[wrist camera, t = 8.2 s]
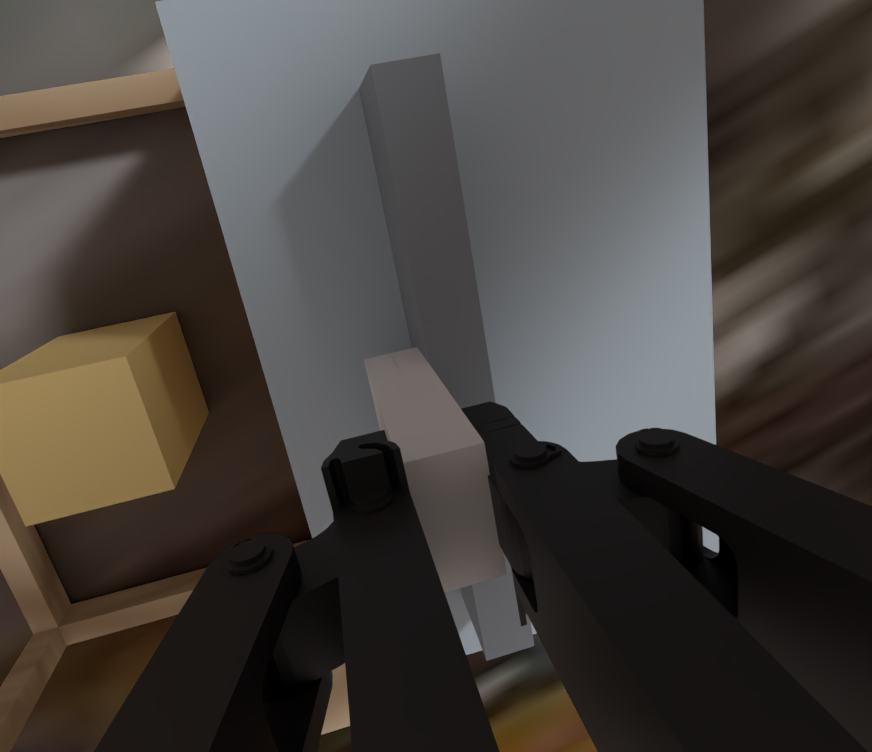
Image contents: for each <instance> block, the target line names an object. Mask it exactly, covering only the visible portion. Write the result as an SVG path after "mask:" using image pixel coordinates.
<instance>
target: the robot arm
mask: <svg viewBox="0 0 872 752" xmlns="http://www.w3.org/2000/svg"><path fill="white" fill-rule="evenodd" d="M364 363H365V367H366V371H367V375H368V380H369V384H370V388H371V393H372V397H373V401H374V406H375V410H376V414H377V419H378V423H379V427H380V431H377V432H373V433H369V434H365V435H361V436H357V437H353V438H349V439H345V440H341V441H340V442H339V444H338V445H337V446H336V448H335V449H334V451H333V452H332V453H331V454H330V455H329V456H328V457H327V458H326V459H325V460H324V461H323V464H322V466H321V471H322V475H323V478H324V482H325V485H326V489H327V493H328V496H329V500H330V504H331V507H332V511H333V522H332V523H331V524H330V525H329V526H328V528H327V529H325V530H324V531H323V532H321V533H320V534H319V535H317V536H316V537H314V538H312V539H310V540H308V541H306V542H304V543H302V544H300V545H298V546H296V547H294V546H293V543H292V542H291V541H290V539H289V538H288V537H287V536H284V535H281V534H278V533H271V534H260V535H256V536H249V537H246V538H243V539H242V540H241V541H240V540H239V541H237V542H235V543H233V544H231V545H230V546H229V547H227V548H226V549H225V550H223V551H222V552H220V553H219V554H218V555H217V556H216V557H215V558H214V559H213V560H212V562H211V563H210V564H209V565H208V567H207V568H206V570H205V572H204V573H203V575H202V577H201V578H200V580H199V581H198V583H197V585H196V586H195V588H194V590H193V591H192V593H191V594H190V596H189V598H188V599H187V601H186V603H185V604H184V606H183V607H182V609H181V611H180V612H179V614H178V616H177V617H176V619H175V620H174V622H173V624H172V625H171V627H170V629H169V630H168V632H167V634H166V635H165V637H164V638H163V640H162V642H161V643H160V645H159V647H158V648H157V650H156V651H155V653H154V655H153V656H152V658H151V660H150V661H149V663H148V664H147V666H146V668H145V669H144V671H143V673H142V674H141V676H140V677H139V679H138V681H137V682H136V684H135V686H134V687H133V689H132V690H131V692H130V694H129V695H128V697H127V699H126V700H125V702H124V703H123V705H122V707H121V708H120V710H119V712H118V713H117V715H116V716H115V718H114V720H113V721H112V723H111V725H110V726H109V728H108V729H107V731H106V733H105V734H104V736H103V738H102V739H101V741H100V743H99V744H98V746H97V747H96V749H95V751H94V752H317V750H318V746H319V742H320V737H321V733H322V729H323V725H324V720H325V716H326V712H327V708H328V703H329V699H330V695H331V691H332V686H333V673H332V670H334V669H336V668H338V667H339V666H341V665H343V664H344V663H345V667H346V679H347V692H348V704H349V716H350V728H351V740H352V752H499V749H498V747H497V744H496V741H495V738H494V735H493V732H492V729H491V726H490V723H489V720H488V717H487V715H486V712H485V709H484V706H483V703H482V700H481V697H480V694H479V691H478V688H477V686H476V683H475V680H474V677H473V674H472V671H471V668H470V665H469V662H468V659H467V656H466V654H465V651H464V648H463V645H462V642H461V639H460V636H459V633H458V630H457V627H456V625H455V622H454V619H453V616H452V613H451V610H450V607H449V604H448V601H447V598H446V595H445V593H446V592H449V591H452V590H456V589H459V588H463V587H466V586H470V585H473V584H476V583H480V582H483V581H487V580H490V579H493V578H497V577H500V576H504V575H507V573H506V567H505V561H504V555H503V552H504V554H505V556H506V558H507V560H508V562H509V563H510V565H511V569H512V575H513V581H514V587H515V593H516V599H517V605H518V611H519V617H520V623H521V626H524V625H527V620H526V614H527V615H528V617H529V619H530V621H531V623H532V625H533V627H534V629H535V630H536V632H537V634H538V636H539V638H540V640H541V642H542V644H543V646H544V648H545V650H546V652H547V654H548V656H549V658H550V660H551V662H552V664H553V665H554V667H555V669H556V671H557V673H558V675H559V677H560V679H561V681H562V683H563V685H564V687H565V689H566V691H567V693H568V695H569V697H570V698H571V700H572V702H573V704H574V706H575V708H576V710H577V712H578V714H579V716H580V718H581V720H582V722H583V724H584V726H585V728H586V730H587V732H588V733H589V735H590V737H591V739H592V741H593V743H594V745H595V747H596V749H597V751H598V752H872V506H870V505H867V504H864V503H862V502H859V501H857V500H854V499H852V498H849V497H847V496H844V495H842V494H839V493H837V492H834V491H831V490H829V489H826V488H824V487H821V486H819V485H816V484H814V483H811V482H809V481H806V480H804V479H801V478H798V477H796V476H793V475H791V474H788V473H786V472H783V471H781V470H778V469H776V468H773V467H771V466H768V465H765V464H763V463H760V462H758V461H755V460H753V459H750V458H748V457H745V456H743V455H740V454H738V453H735V452H732V451H730V450H727V449H725V448H722V447H720V446H717V445H715V444H712V443H710V442H707V441H705V440H702V439H699V438H697V437H694V436H692V435H689V434H687V433H684V432H680V431H676V430H672V429H661V428H650V429H648V428H646V429H641V430H639V431H636V432H633V433H629V434H627V435H626V436H624V437H623V438H621V439H619V441H618V443H617V445H616V456H617V459H614V460H603V461H589V462H579V461H578V460H577V459H576V458H575V457H574V456H573V455H572V454H571V453H570V452H569V451H568V450H567V449H566V448H564V447H562V446H561V445H559V444H556V443H552V442H547V441H537V440H536V439H535V438H534V436H533V435H532V434H531V433H530V432H529V431H528V430H527V429H526V428H525V427H524V426H523V425H521V422H520V421H519V420H518V419H517V418H516V417H514V415H513V414H512V413H511V411H510V410H509V409H508V408H507V407H505V406H503V405H500V404H497V403H494V402H491V401H490V402H486V403H482V404H478V405H474V406H470V407H466V408H462V409H461V408H460V407H459V406H458V404H457V403H456V401H455V400H454V398H453V397H452V396H451V394H450V393H449V391H448V390H447V388H446V387H445V386H444V384H443V383H442V381H441V380H440V379H439V377H438V376H437V374H436V373H435V371H434V370H433V369H432V367H431V366H430V364H429V363H428V362H427V360H426V359H425V357H424V356H423V355H422V353H421V352H420V350H419V349H418V347H415V348H411V349H406V350H402V351H398V352H394V353H389V354H385V355H381V356H376V357H372V358H368V359H364ZM702 527H704V528H706V529H707V530H709V531H711V532H713V533H715V534H716V535H717V536H719V553H717V552H714V551H712V550H710V549H708V548H706V547H705V546H703V528H702Z"/></svg>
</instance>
